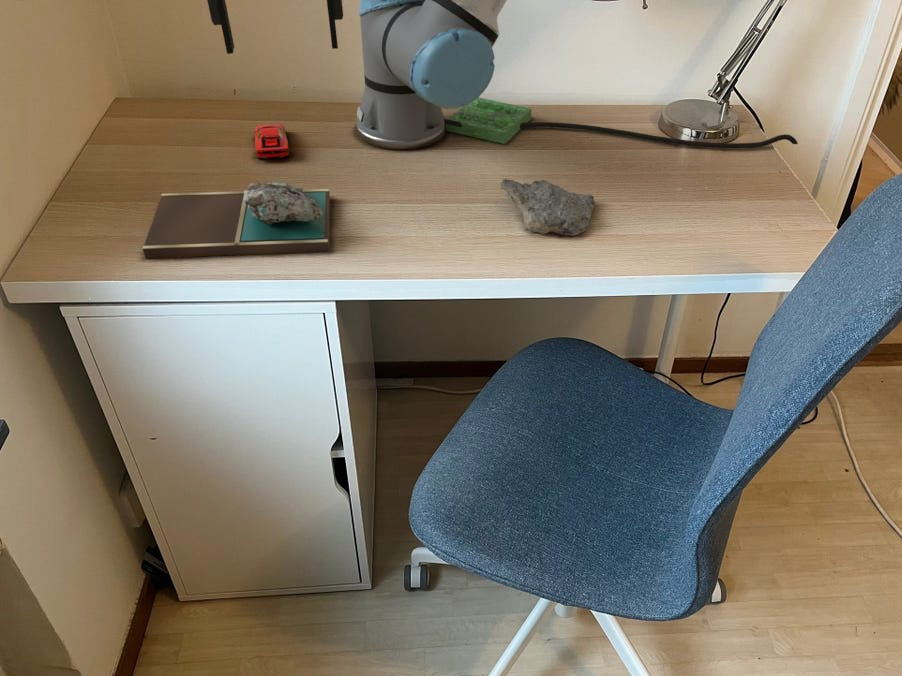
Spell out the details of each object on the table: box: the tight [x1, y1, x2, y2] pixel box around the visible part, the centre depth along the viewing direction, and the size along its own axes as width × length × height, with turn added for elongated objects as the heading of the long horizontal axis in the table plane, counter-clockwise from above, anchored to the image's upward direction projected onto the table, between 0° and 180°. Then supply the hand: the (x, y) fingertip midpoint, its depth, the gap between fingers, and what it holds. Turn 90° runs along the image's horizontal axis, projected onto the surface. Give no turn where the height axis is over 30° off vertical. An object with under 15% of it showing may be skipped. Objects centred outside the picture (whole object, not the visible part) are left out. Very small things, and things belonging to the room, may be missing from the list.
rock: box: [499, 178, 596, 237], centre depth 115 cm, size 14×4×15 cm
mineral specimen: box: [243, 181, 323, 224], centre depth 107 cm, size 10×12×6 cm
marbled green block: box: [445, 96, 532, 145], centre depth 138 cm, size 11×12×2 cm
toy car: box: [253, 123, 290, 160], centre depth 128 cm, size 12×5×3 cm, turn 14°
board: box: [142, 188, 331, 259], centre depth 109 cm, size 24×15×2 cm, turn 97°
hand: (283, 47), depth 103 cm, fingers open, 13 cm apart
